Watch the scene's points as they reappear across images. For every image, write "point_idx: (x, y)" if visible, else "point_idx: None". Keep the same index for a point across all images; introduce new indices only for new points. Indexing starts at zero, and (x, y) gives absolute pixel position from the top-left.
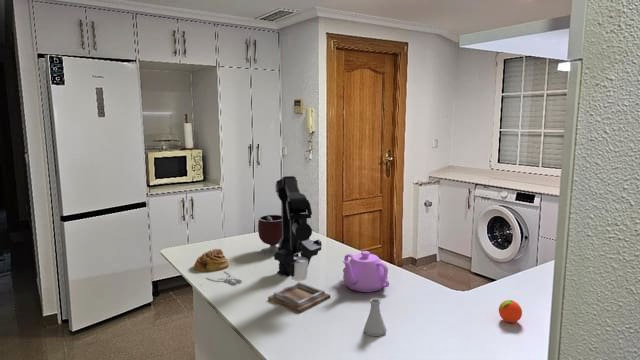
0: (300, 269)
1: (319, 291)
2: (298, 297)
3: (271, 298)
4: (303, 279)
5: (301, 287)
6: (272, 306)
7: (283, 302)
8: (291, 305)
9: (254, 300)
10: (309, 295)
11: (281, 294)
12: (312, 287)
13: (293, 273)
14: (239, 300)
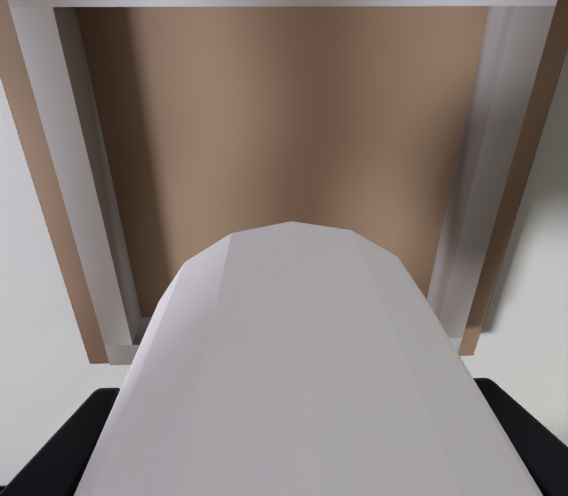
0: (478, 439)
1: (61, 32)
2: (322, 164)
3: (481, 321)
4: (322, 231)
5: (134, 297)
6: (554, 236)
7: (510, 192)
8: (541, 73)
9: (520, 385)
10: (195, 108)
11: (454, 290)
12: (74, 184)
13: (520, 427)
14: (565, 436)
